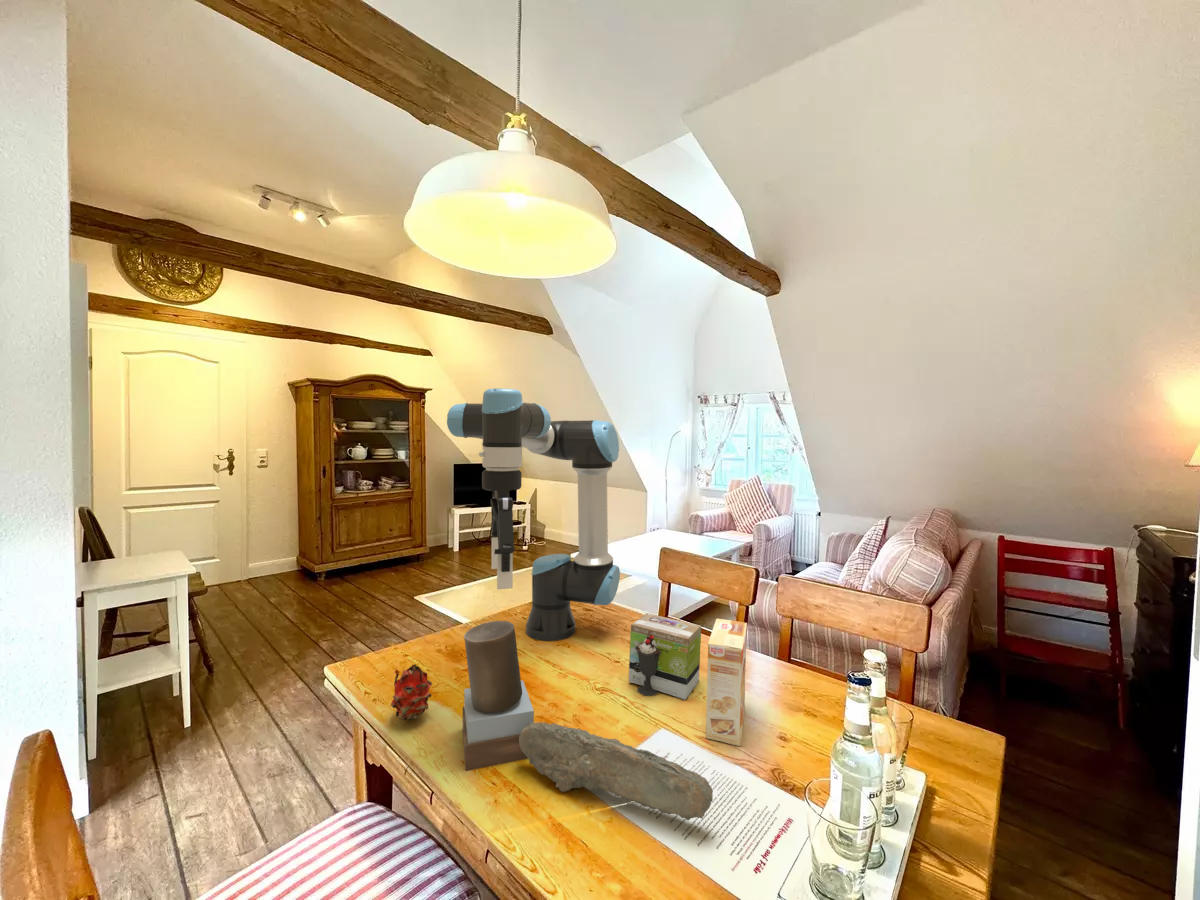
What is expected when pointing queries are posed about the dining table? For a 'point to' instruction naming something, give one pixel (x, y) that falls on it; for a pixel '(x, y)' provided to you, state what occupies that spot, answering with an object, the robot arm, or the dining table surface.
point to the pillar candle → (493, 666)
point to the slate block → (497, 719)
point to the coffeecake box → (726, 681)
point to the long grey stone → (614, 769)
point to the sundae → (648, 663)
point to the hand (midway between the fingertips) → (501, 577)
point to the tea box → (668, 654)
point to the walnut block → (491, 750)
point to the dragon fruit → (411, 693)
